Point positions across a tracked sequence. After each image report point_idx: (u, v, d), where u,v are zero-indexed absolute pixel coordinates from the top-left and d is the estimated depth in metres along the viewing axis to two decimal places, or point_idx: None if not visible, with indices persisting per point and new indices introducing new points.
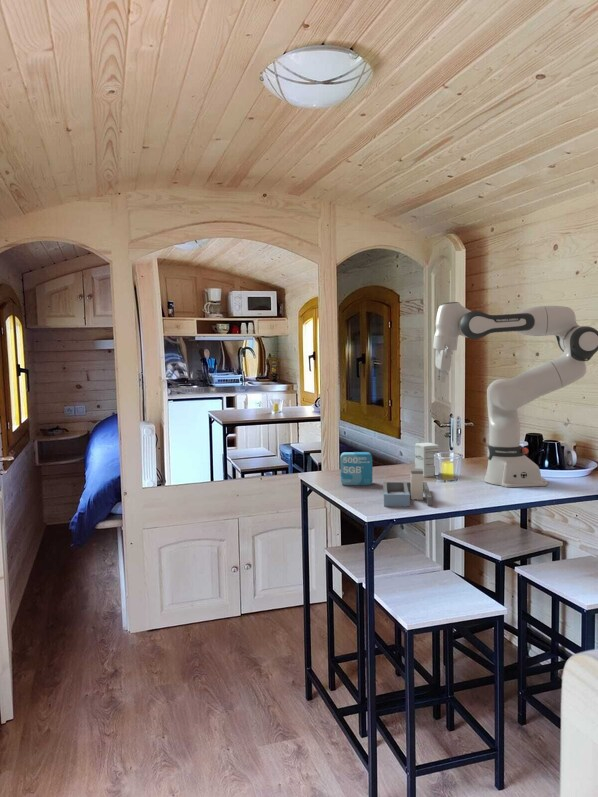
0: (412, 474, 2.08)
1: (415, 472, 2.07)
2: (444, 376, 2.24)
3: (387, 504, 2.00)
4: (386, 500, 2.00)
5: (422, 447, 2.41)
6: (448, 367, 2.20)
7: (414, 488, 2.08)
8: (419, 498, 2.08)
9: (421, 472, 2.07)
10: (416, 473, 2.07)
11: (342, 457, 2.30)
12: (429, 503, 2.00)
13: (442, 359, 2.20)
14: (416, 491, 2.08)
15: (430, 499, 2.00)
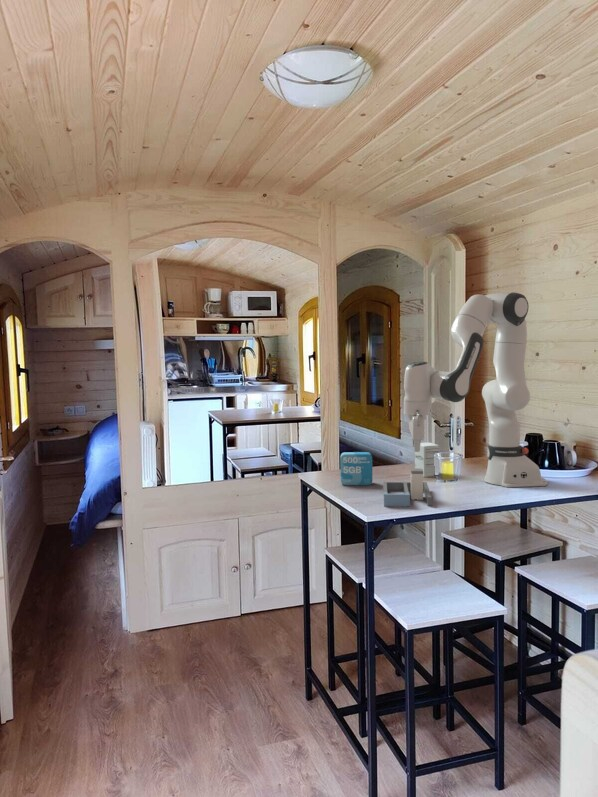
0: (412, 474, 2.08)
1: (415, 472, 2.07)
2: (418, 445, 2.02)
3: (387, 504, 2.00)
4: (386, 500, 2.00)
5: (422, 447, 2.41)
6: (421, 436, 1.98)
7: (414, 488, 2.08)
8: (419, 498, 2.08)
9: (421, 472, 2.07)
10: (416, 473, 2.07)
11: (342, 457, 2.30)
12: (429, 503, 2.00)
13: (414, 428, 1.98)
14: (416, 491, 2.08)
15: (430, 499, 2.00)
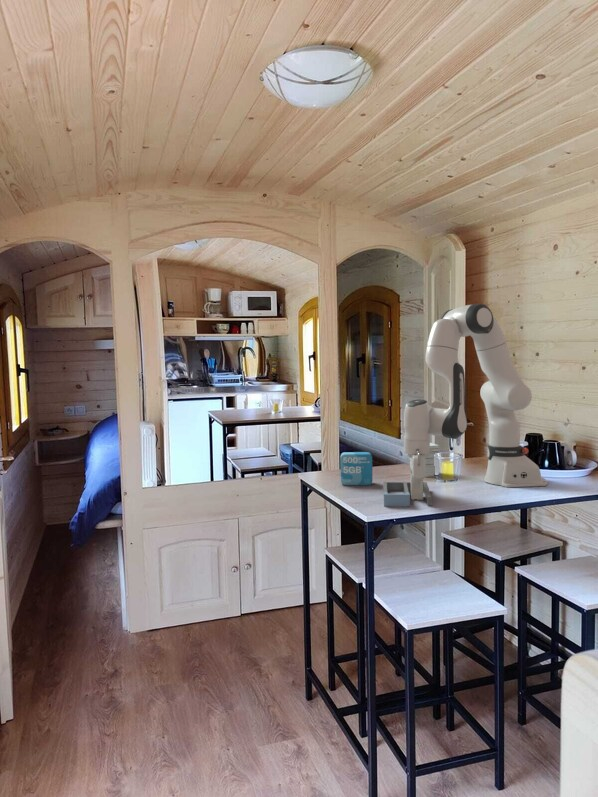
0: None
1: None
2: (418, 482, 2.06)
3: (387, 504, 2.00)
4: (386, 500, 2.00)
5: None
6: (422, 476, 1.99)
7: (414, 488, 2.08)
8: (419, 498, 2.08)
9: None
10: None
11: (342, 457, 2.30)
12: (429, 503, 2.00)
13: (414, 468, 2.00)
14: (416, 491, 2.08)
15: (430, 499, 2.00)
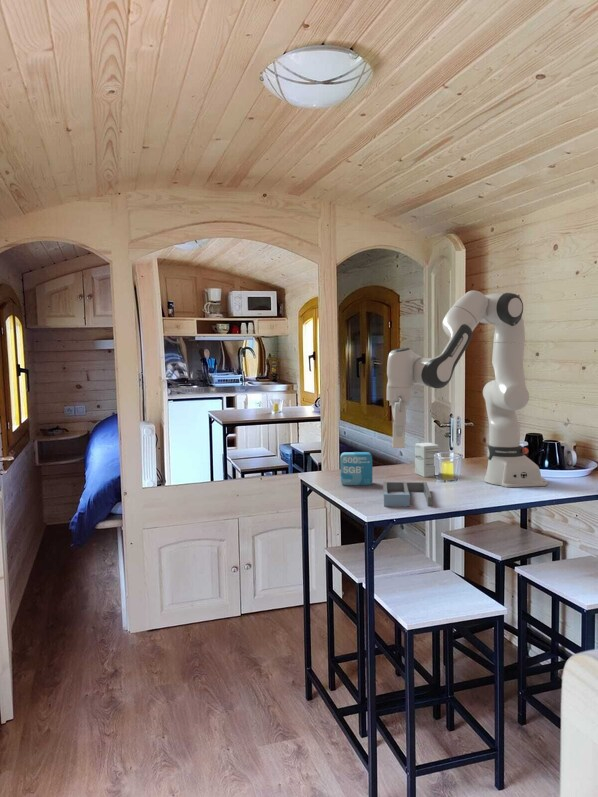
0: None
1: None
2: (400, 430, 2.04)
3: (387, 504, 2.00)
4: (386, 500, 2.00)
5: (422, 447, 2.41)
6: (403, 422, 1.98)
7: (395, 436, 2.07)
8: (400, 447, 2.07)
9: None
10: None
11: (342, 457, 2.30)
12: (429, 503, 2.00)
13: (396, 413, 1.98)
14: (398, 440, 2.07)
15: (430, 499, 2.00)
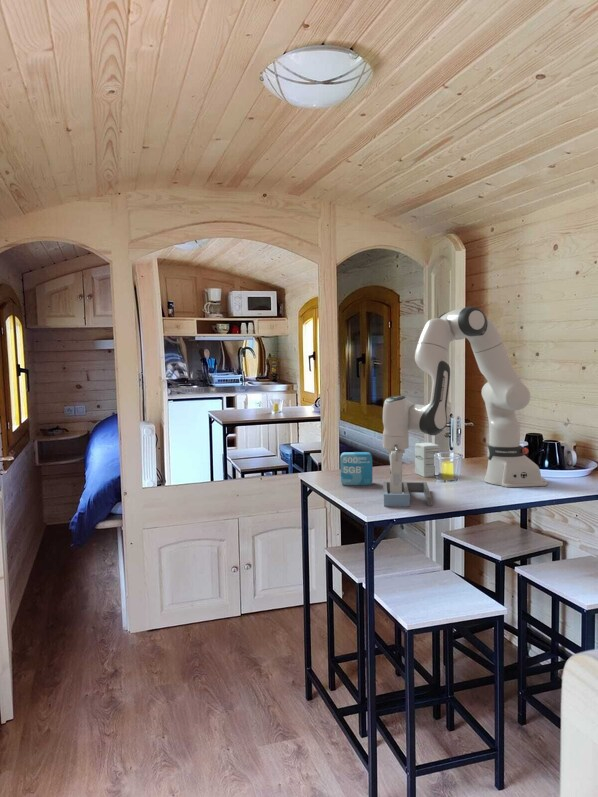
0: (390, 473, 2.09)
1: None
2: (397, 479, 2.05)
3: (387, 504, 2.00)
4: (386, 500, 2.00)
5: (422, 447, 2.41)
6: (399, 471, 2.00)
7: (392, 488, 2.09)
8: None
9: None
10: None
11: (342, 457, 2.30)
12: (429, 503, 2.00)
13: (392, 463, 2.00)
14: (395, 491, 2.09)
15: (430, 499, 2.00)
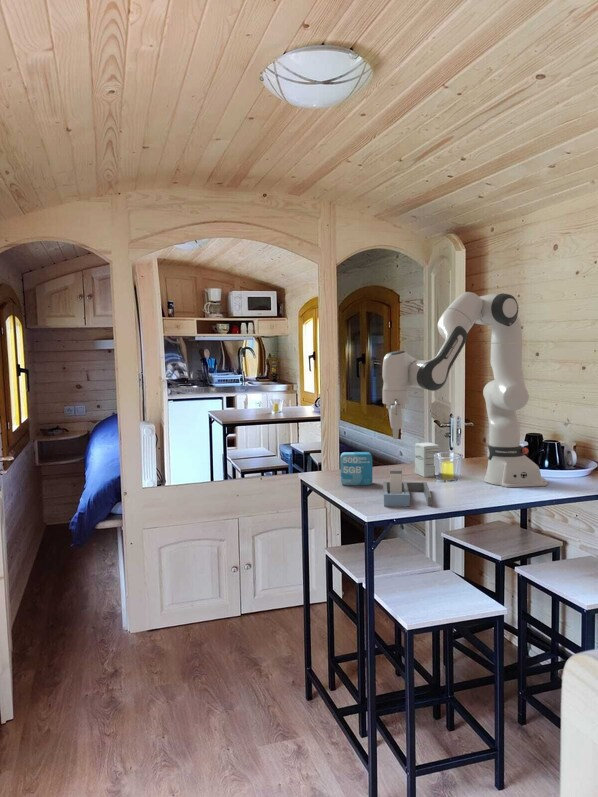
0: (390, 473, 2.09)
1: (394, 472, 2.08)
2: (397, 432, 2.06)
3: (387, 504, 2.00)
4: (386, 500, 2.00)
5: (422, 447, 2.41)
6: (399, 425, 1.99)
7: (392, 488, 2.09)
8: None
9: (400, 472, 2.08)
10: (395, 473, 2.08)
11: (342, 457, 2.30)
12: (429, 503, 2.00)
13: (392, 417, 1.99)
14: (395, 491, 2.09)
15: (430, 499, 2.00)
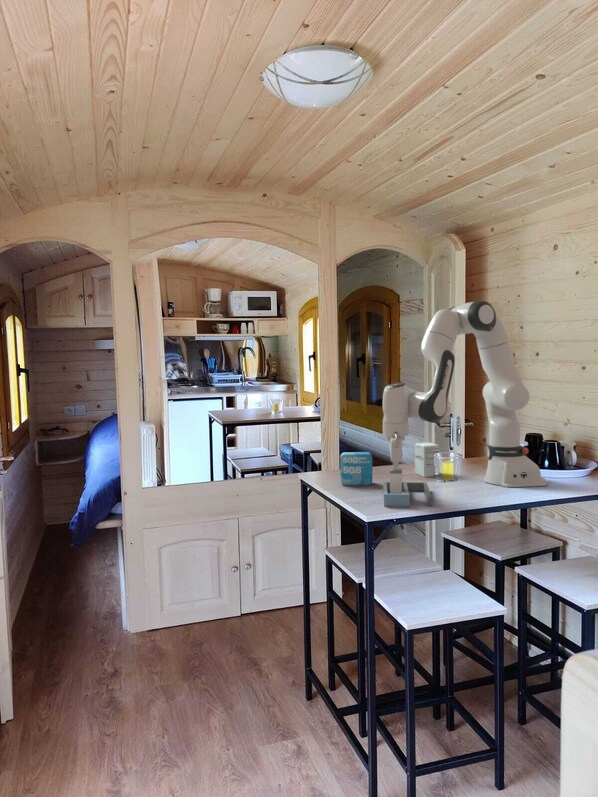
0: (390, 473, 2.09)
1: (394, 472, 2.08)
2: (397, 464, 2.08)
3: (387, 504, 2.00)
4: (386, 500, 2.00)
5: (422, 447, 2.41)
6: (399, 458, 2.00)
7: (392, 488, 2.09)
8: None
9: (400, 472, 2.08)
10: (395, 473, 2.08)
11: (342, 457, 2.30)
12: (429, 503, 2.00)
13: (392, 450, 2.00)
14: (395, 491, 2.09)
15: (430, 499, 2.00)
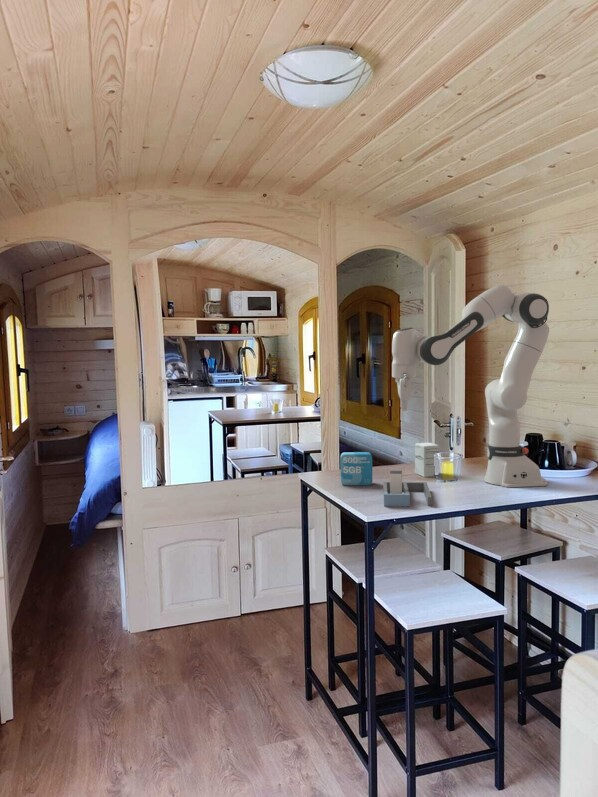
0: (390, 473, 2.09)
1: (394, 472, 2.08)
2: (405, 404, 2.20)
3: (387, 504, 2.00)
4: (386, 500, 2.00)
5: (422, 447, 2.41)
6: (408, 396, 2.11)
7: (392, 488, 2.09)
8: None
9: (400, 472, 2.08)
10: (395, 473, 2.08)
11: (342, 457, 2.30)
12: (429, 503, 2.00)
13: (401, 389, 2.11)
14: (395, 491, 2.09)
15: (430, 499, 2.00)
